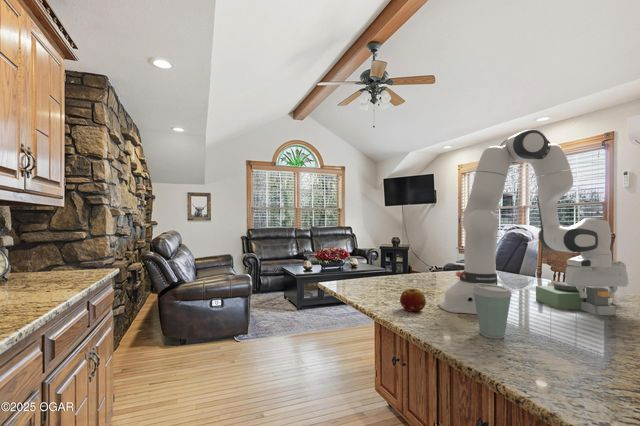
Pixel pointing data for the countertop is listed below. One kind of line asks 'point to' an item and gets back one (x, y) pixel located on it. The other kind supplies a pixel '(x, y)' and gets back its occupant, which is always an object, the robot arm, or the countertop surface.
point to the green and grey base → (569, 299)
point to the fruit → (412, 300)
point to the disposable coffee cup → (492, 309)
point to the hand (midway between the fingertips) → (596, 298)
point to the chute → (597, 296)
